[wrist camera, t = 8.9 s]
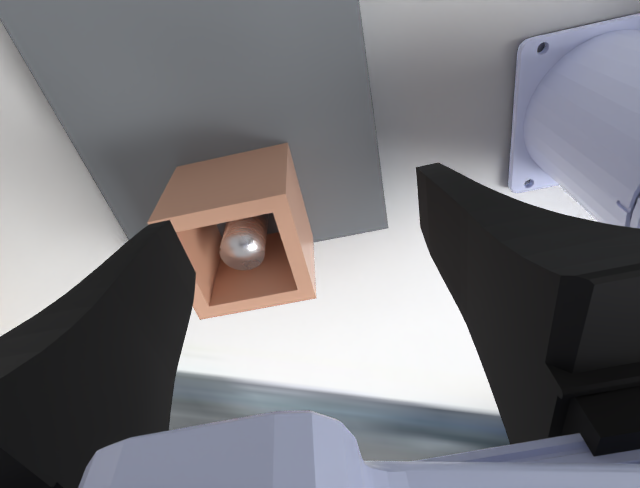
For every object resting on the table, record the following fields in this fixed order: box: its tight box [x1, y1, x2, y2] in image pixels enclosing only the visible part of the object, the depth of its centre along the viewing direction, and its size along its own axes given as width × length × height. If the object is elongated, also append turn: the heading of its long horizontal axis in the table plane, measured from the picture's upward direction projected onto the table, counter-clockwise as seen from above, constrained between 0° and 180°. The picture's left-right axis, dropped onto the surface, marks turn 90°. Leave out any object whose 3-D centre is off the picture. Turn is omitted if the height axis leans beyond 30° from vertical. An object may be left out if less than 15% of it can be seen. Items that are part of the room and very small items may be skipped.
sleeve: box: [147, 143, 316, 320], centre depth 20 cm, size 6×6×5 cm
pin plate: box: [0, 0, 388, 270], centre depth 17 cm, size 14×20×6 cm
